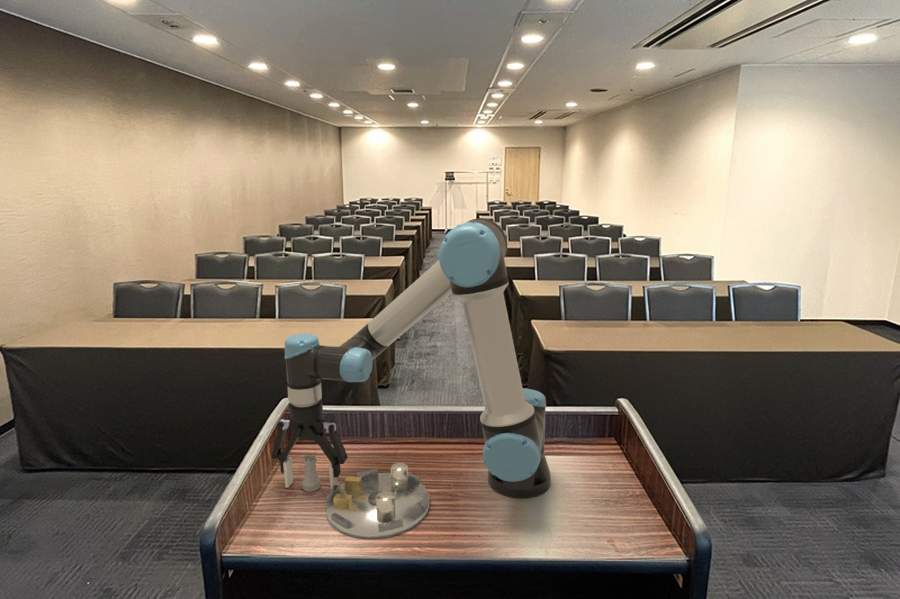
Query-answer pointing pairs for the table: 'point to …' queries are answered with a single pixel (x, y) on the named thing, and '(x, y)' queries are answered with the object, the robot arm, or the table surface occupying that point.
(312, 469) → the rook chess piece
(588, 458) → the table surface
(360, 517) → the carrier plate
